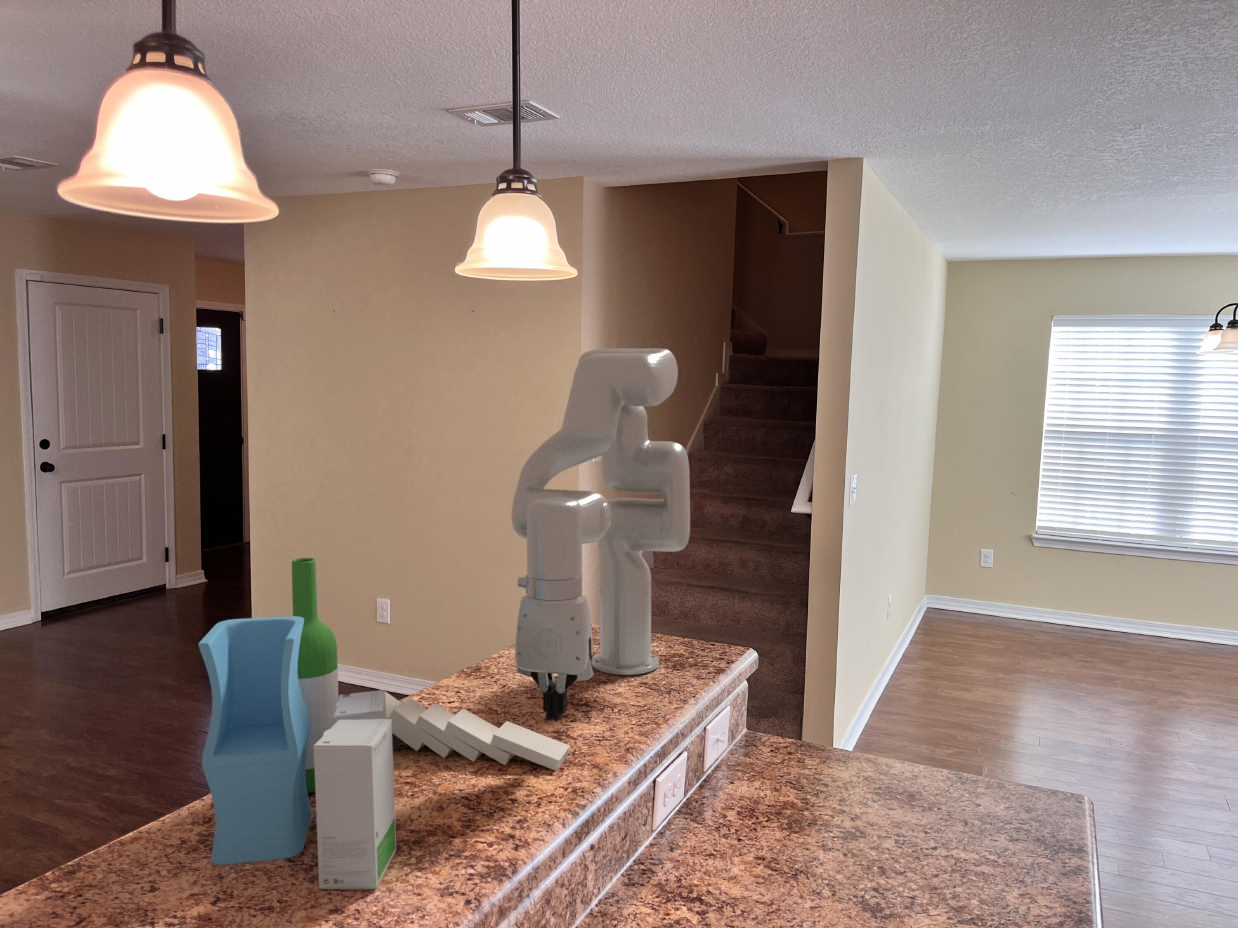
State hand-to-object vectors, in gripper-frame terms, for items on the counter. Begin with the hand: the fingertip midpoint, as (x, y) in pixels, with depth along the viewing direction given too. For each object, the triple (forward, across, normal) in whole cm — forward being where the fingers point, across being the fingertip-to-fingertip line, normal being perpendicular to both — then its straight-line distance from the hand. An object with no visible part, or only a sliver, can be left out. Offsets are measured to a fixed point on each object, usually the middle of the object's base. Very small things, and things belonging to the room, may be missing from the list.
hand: (555, 716), depth 122 cm
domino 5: (+6, +1, 0) cm, 6 cm away
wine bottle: (+7, -30, -14) cm, 33 cm away
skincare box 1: (+7, -18, -21) cm, 28 cm away
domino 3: (+6, -11, 0) cm, 12 cm away
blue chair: (+7, -26, -28) cm, 39 cm away
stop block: (+7, -26, 0) cm, 27 cm away
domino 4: (+6, -6, 0) cm, 9 cm away
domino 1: (+5, -19, 0) cm, 20 cm away
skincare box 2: (+7, -12, -31) cm, 34 cm away
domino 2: (+6, -15, 0) cm, 16 cm away
